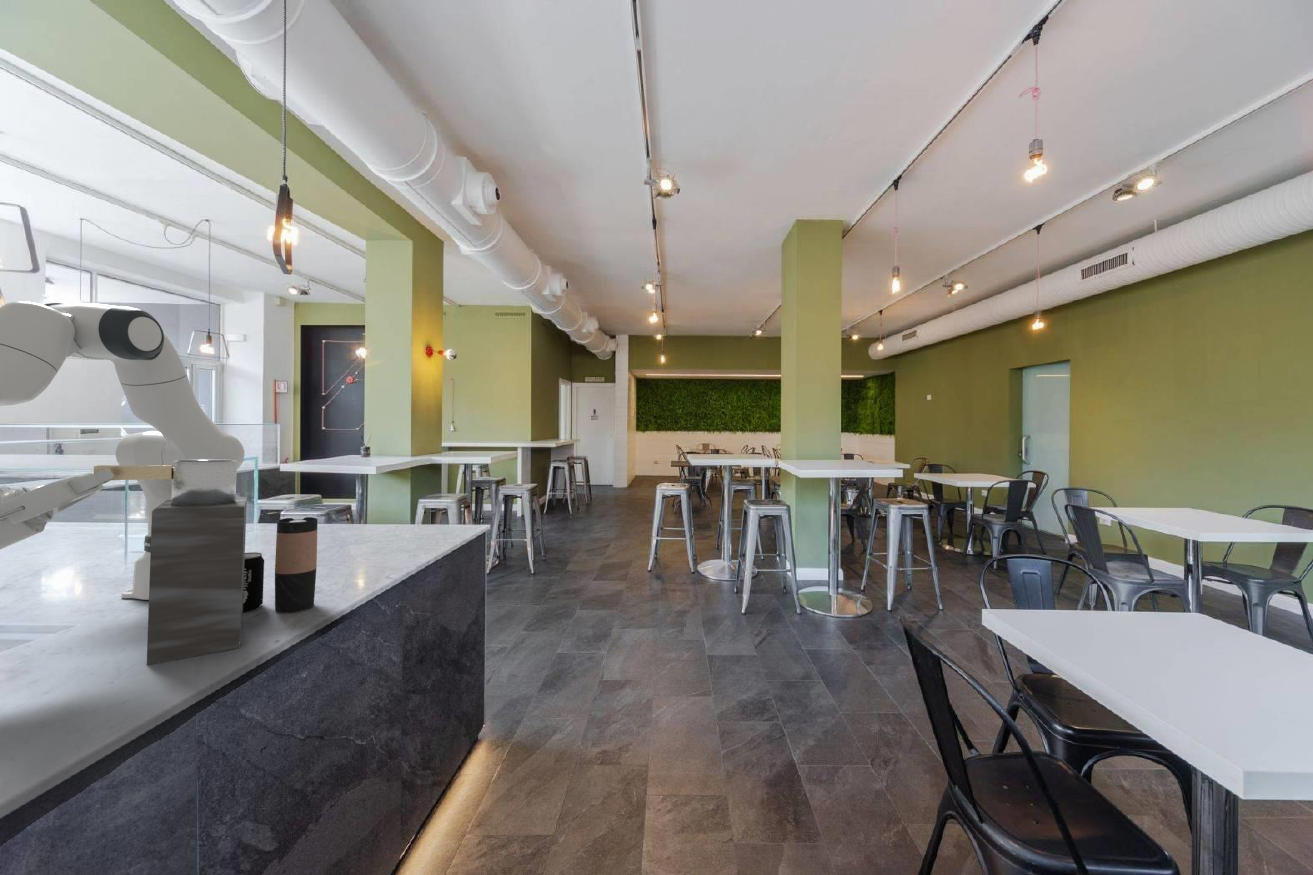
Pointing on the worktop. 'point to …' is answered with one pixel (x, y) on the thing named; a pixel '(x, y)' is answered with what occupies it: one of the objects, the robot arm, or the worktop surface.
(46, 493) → the robot arm
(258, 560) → the beverage can
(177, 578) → the stand
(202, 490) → the milk pan
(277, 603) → the travel mug
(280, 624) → the worktop surface
